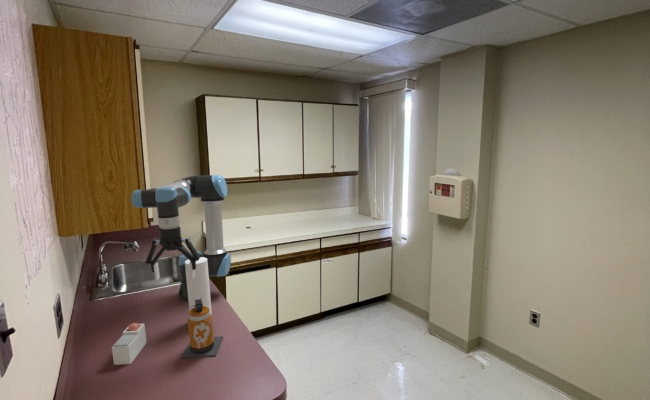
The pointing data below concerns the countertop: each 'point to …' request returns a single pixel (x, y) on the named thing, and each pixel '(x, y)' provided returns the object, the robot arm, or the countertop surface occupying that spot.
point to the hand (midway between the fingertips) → (175, 278)
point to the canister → (200, 328)
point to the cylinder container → (198, 283)
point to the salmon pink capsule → (133, 327)
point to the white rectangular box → (129, 345)
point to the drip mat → (208, 353)
